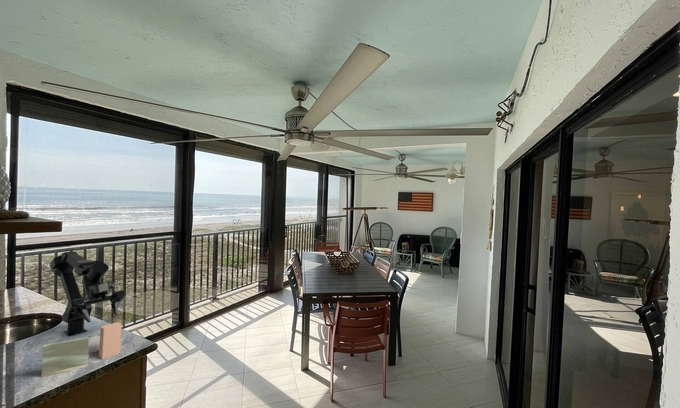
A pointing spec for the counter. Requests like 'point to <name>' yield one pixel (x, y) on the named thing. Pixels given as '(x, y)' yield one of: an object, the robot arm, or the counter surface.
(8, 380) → the counter surface
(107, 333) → the salmon pink block
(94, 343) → the seashell
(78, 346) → the pale green box
